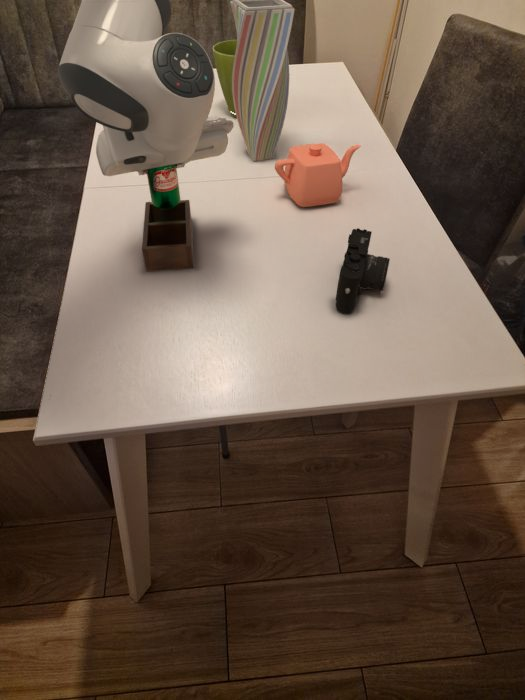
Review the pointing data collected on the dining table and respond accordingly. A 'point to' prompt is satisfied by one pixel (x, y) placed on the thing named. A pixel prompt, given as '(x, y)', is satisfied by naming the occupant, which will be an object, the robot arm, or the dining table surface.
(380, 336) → the dining table surface
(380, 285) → the camera
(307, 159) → the teapot
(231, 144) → the dining table surface
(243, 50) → the vase
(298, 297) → the dining table surface
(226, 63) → the flower pot
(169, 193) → the soda can
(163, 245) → the caddy
